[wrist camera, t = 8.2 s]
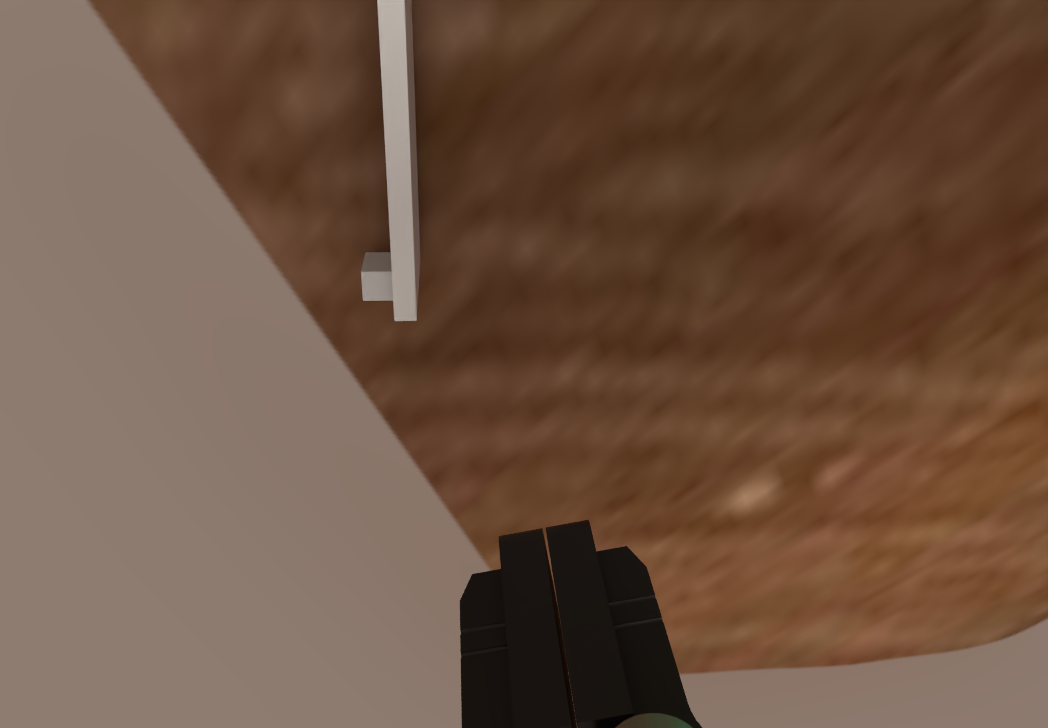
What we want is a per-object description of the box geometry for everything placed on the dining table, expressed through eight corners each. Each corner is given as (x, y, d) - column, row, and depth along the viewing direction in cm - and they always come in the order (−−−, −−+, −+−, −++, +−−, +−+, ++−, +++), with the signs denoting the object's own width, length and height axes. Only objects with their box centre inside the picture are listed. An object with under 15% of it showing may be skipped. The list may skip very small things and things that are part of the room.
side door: (425, 261, 34) (422, 323, 29) (371, 261, 34) (358, 323, 28) (413, -119, 27) (406, -128, 22) (345, -121, 27) (322, -131, 22)
